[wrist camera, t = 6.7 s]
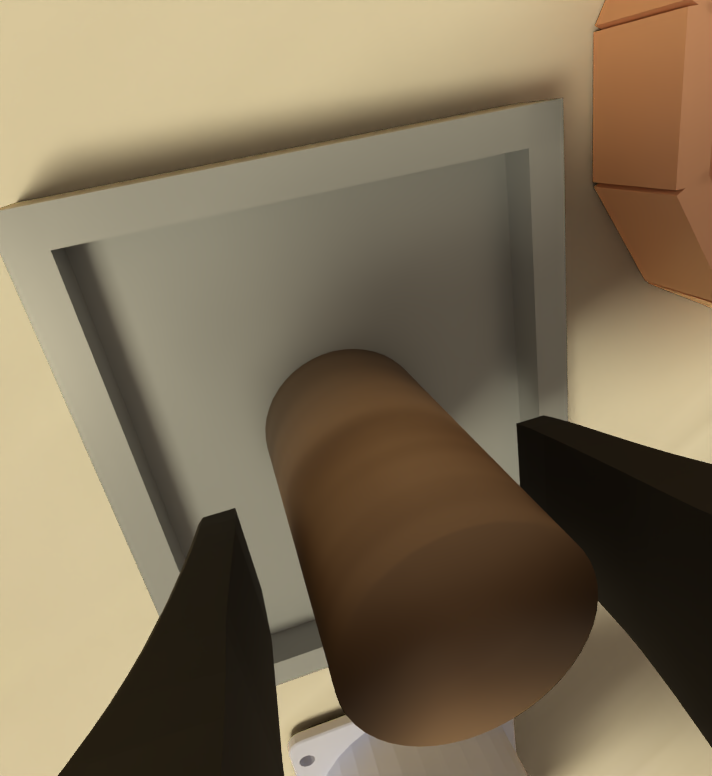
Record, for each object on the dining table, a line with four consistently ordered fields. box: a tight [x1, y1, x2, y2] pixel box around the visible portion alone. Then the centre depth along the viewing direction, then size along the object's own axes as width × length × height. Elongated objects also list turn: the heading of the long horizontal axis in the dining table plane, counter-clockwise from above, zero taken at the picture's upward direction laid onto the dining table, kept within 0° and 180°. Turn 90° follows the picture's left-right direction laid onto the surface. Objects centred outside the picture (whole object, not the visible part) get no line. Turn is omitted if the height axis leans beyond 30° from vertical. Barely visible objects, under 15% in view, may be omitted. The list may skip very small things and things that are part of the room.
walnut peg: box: [265, 349, 598, 747], centre depth 11 cm, size 4×4×7 cm
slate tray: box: [0, 98, 568, 686], centre depth 14 cm, size 13×11×2 cm
